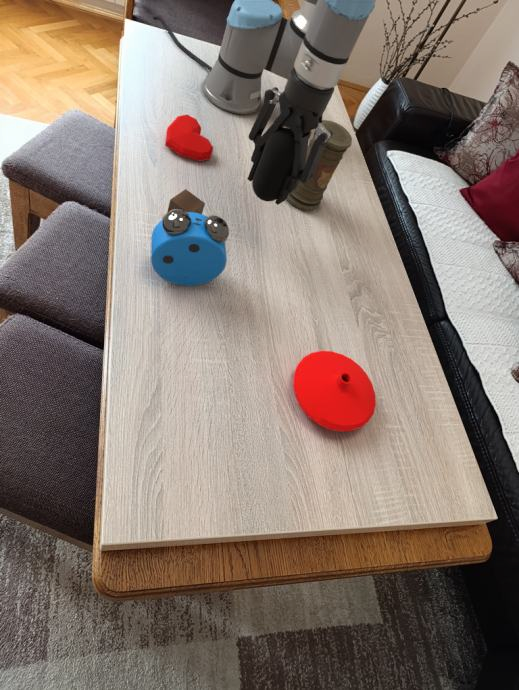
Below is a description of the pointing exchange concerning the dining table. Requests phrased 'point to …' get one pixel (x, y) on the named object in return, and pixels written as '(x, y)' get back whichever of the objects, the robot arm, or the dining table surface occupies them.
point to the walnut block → (186, 203)
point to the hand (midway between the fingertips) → (266, 189)
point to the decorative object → (274, 164)
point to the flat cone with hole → (334, 391)
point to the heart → (188, 139)
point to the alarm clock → (189, 247)
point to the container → (321, 168)
